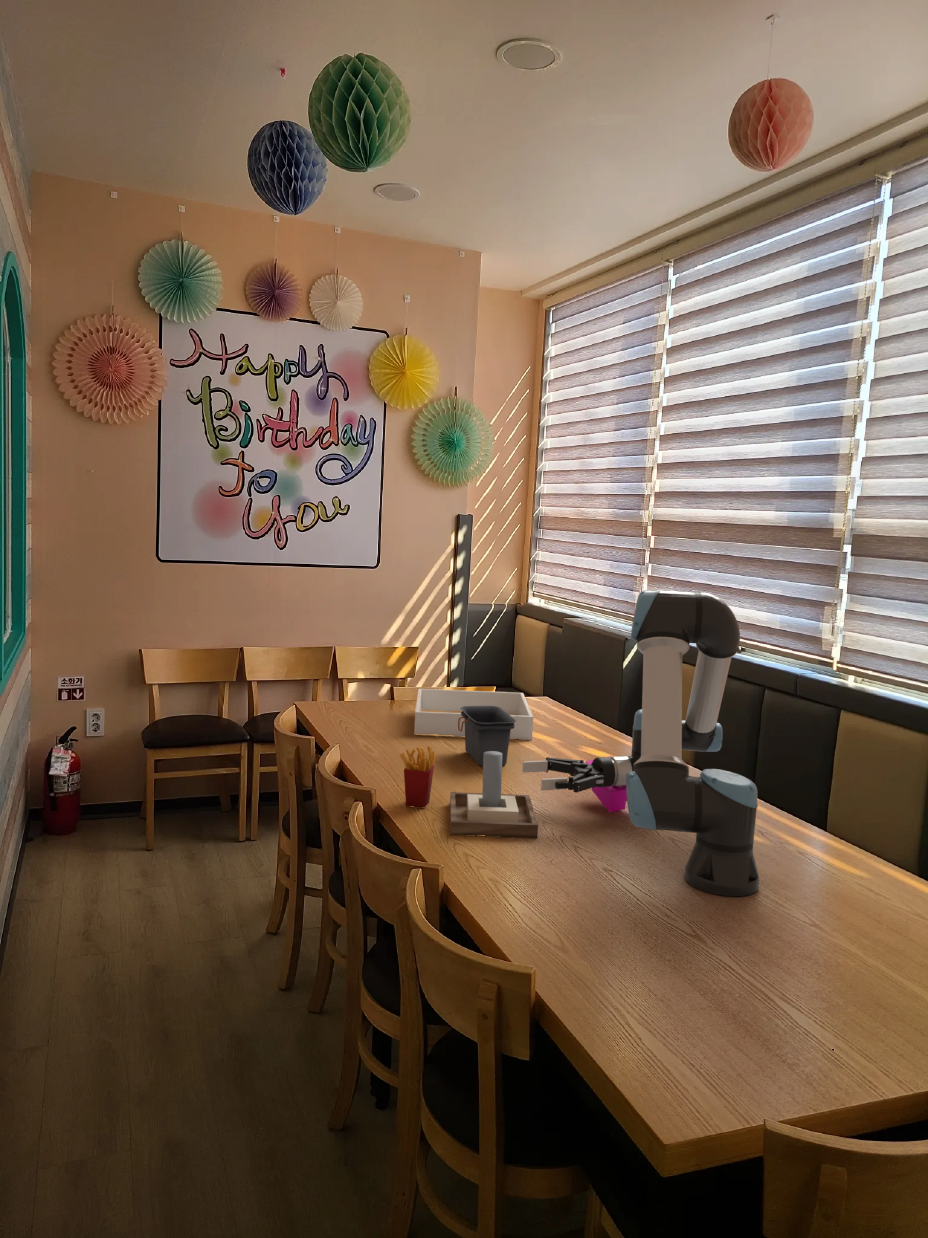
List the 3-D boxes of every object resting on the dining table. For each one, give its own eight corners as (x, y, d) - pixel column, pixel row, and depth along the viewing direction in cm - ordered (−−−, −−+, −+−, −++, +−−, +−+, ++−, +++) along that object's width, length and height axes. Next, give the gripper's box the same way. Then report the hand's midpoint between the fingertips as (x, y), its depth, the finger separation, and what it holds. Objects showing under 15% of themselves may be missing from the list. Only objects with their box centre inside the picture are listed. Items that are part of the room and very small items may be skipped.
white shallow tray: (532, 740, 304) (533, 716, 303) (414, 735, 303) (415, 712, 302) (522, 713, 343) (523, 692, 342) (417, 709, 342) (418, 688, 341)
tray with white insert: (537, 838, 213) (538, 825, 212) (450, 835, 212) (451, 822, 212) (528, 807, 235) (529, 795, 234) (449, 804, 234) (450, 792, 234)
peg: (500, 820, 222) (502, 756, 220) (482, 819, 222) (484, 756, 220) (499, 813, 227) (501, 751, 225) (481, 813, 227) (483, 751, 225)
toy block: (609, 812, 234) (635, 807, 236) (611, 792, 231) (637, 787, 233) (584, 780, 247) (609, 775, 249) (585, 761, 244) (610, 756, 246)
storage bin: (517, 768, 270) (520, 721, 268) (467, 770, 266) (469, 722, 264) (495, 749, 290) (498, 705, 289) (449, 750, 286) (451, 706, 284)
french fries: (427, 810, 229) (429, 752, 227) (395, 806, 230) (397, 749, 229) (435, 799, 237) (437, 743, 236) (404, 796, 239) (407, 740, 237)
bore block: (517, 830, 218) (518, 811, 217) (467, 828, 217) (468, 810, 217) (513, 813, 230) (514, 796, 229) (466, 811, 229) (467, 794, 229)
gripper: (631, 802, 220) (549, 807, 215) (589, 770, 244) (515, 774, 238) (633, 773, 219) (551, 777, 213) (591, 743, 243) (516, 746, 237)
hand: (531, 775), depth 226 cm, fingers open, 13 cm apart
